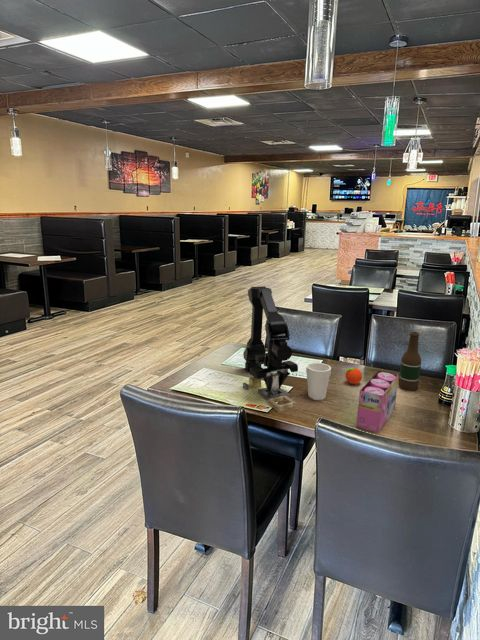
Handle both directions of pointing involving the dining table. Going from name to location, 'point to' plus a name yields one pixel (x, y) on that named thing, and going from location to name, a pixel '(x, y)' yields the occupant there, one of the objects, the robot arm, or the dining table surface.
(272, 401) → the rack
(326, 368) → the foam cup
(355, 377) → the clementine
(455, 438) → the dining table surface
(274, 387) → the drill peg
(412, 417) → the dining table surface
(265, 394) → the socket plate
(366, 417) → the gum box
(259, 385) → the translucent yellowish block
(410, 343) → the beer bottle
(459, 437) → the dining table surface
